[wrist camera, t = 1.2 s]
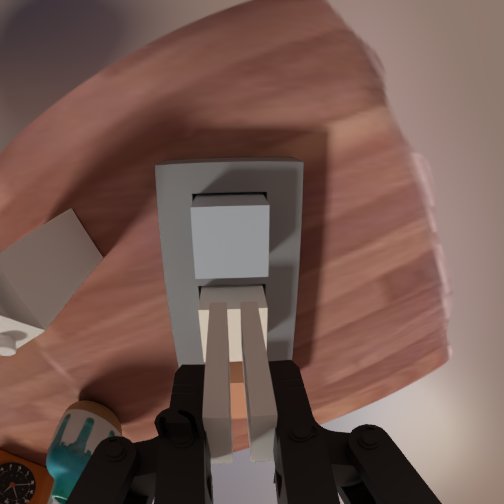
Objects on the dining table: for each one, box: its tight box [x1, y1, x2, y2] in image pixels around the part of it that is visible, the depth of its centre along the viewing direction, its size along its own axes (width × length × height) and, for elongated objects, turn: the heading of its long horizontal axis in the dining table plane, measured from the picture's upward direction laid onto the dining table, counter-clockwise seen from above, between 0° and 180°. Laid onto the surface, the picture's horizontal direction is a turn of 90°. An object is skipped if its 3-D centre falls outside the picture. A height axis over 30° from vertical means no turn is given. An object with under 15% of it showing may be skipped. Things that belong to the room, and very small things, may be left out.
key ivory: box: [198, 284, 268, 362], centre depth 31 cm, size 6×6×6 cm
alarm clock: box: [0, 449, 54, 504], centre depth 43 cm, size 18×9×21 cm, turn 84°
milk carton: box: [0, 208, 103, 356], centre depth 24 cm, size 7×7×19 cm
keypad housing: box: [155, 157, 304, 368], centre depth 34 cm, size 13×30×5 cm, turn 0°
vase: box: [46, 400, 122, 504], centre depth 35 cm, size 11×11×19 cm
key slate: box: [190, 192, 270, 279], centre depth 28 cm, size 6×6×6 cm
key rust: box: [230, 361, 247, 419], centre depth 34 cm, size 6×6×6 cm
